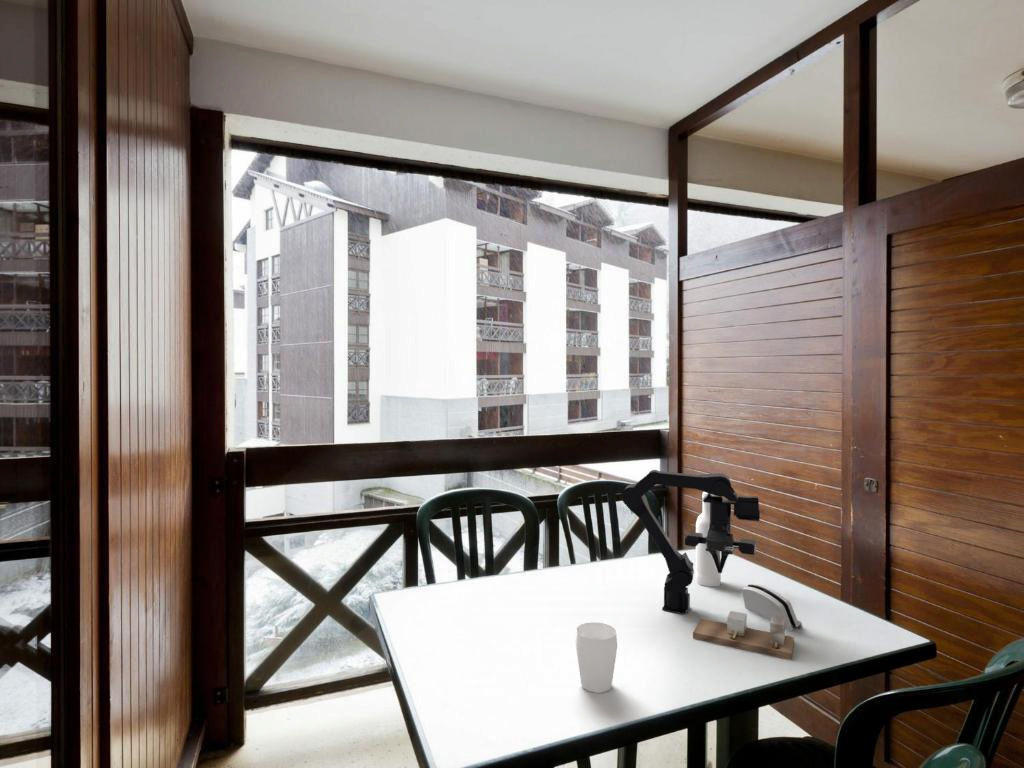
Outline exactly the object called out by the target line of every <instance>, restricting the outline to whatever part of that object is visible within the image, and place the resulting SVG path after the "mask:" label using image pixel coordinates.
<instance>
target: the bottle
mask: <svg viewBox="0 0 1024 768" xmlns="http://www.w3.org/2000/svg"><path fill="white" fill-rule="evenodd" d="M707 495H708V493H706V492H703V491H702V496H701V498H702V499H703V498H704V497H706V496H707ZM711 495H712V494H711ZM712 496H715V495H712ZM709 525H710V503H707V502H703V501H702V512H701V513H700V515H698V516H697V519H696V522H695V532H696V533H702V535H703V537H707V534H708V530H709ZM705 549H706V544H702V543H699V544H698V545H697V546H696V547H695V571H694V573H695V574H694V577H695V582H696V584H698V585H700V586H703V587H709V588H712V587H718V586H720V585H721V581H722V580H721V579H722V578H721V577H722V573H718V571H717V568H716V565H715V562H714V559H713V557H712V555H711V554H710V552H709V551H706V550H705ZM720 554H721V551H720Z"/></svg>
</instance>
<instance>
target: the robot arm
mask: <svg viewBox="0 0 1024 768" xmlns="http://www.w3.org/2000/svg"><path fill="white" fill-rule="evenodd" d="M655 486H666V487H676V488H682V489H683V488H684V489H693V490H698V491H701V492H702V493H703V492H706V493H708V495H707V496H706V497H704V498H702V503H703V502H707V503H710V525H709V530H708V534H707V537H703V535H702V533H696V531H690V532H688V534H687V535H685V537H684V545H685V546H687V547H688V546H689V547H695V548H696V546H697V545H698V544H699V543H702V544H706V549H705V550H706V551H709V552H710V554H711V555H712V557H713V559H714V562H715V565H716V568H717V571H718V573H720V574H722V573H723V570H724V567H725V564H726V562H727V559H728V557H729V555H733V554H734V552H735V550H736V549H738V551H739V552H740V553H741V554H743V555H745V554H746V555H751V556H754V555H755V554H756V552H757V548H758V547H757V544H758V543H757V542H756V540H755V539H748V538H747V539H746V538H741V539H740V540H739V541H738V540H737V541H735V539H734V534H733V533H732V505H733V517H735V518H736V519H737V520H738V521H749V522H760V516H761V515H760V514H761V511H760V505H759V503H760V502H759V497H758V496H754V495H753V496H743V495H738V493H737V491H735V489H734V488H733V486H732V481H731V479H730V477H729V476H728V475H727V474H725V473H721V472H717V473H716V472H715V473H705V474H689V473H682V472H681V473H680V472H671V471H664V470H663V471H661V470H657V469H651V470H650V471H649V472H648V474H646V475H645V476H644V477H643V478H641V479H640V480H639V481H638V482H636V483H631V484H628V485H627V486H626V487H625V488H624V490H623V491H622V492H621V500H622V502H623V504H624V505H625V506H626V507H627V508H628V509H629V510H630V511H631V512H632V513H633V514H634V515H635V516H636V517H637V518H638V519H639V521H640V522H641V523H642V525H643V527H644V528H645V530H646V531H647V533H648V534H649V536H650V537H651V539H652V540H653V542H654V544H655V546H656V547H657V548H658V550H659V552H660V554H661V555H662V556H663V558H664V559H665V562H666V566H667V568H668V572H669V573H668V574H666V578H665V582H664V587H663V606H662V609H661V610H662V611H668V612H672V613H677V614H682V615H686V613H687V611H688V610H689V609H690V607H691V606H690V605H691V604H690V603H691V602H690V601H691V593H689V588H688V587H689V586H690V585H691V584H692V583H693V580H694V575H695V574H694V573H695V570H694V563H693V562H692V561H691V560H690V559H689V556H688V554H687V552H684V553H683V554H682V553H681V552H679V551H678V550H677V549H676V547H675V546H674V544H673V542H672V541H671V539H670V538H669V537H668V535H667V533H666V532H665V529H663V527H662V525H661V524H660V522H659V521H658V519H657V517H656V516H655V514H654V513H653V511H652V510H651V508H650V504H649V502H648V498H647V496H646V494H647V493H648V492H649V491H651V490H652V488H654V487H655ZM711 494H712V495H714V496H712V495H711ZM723 498H724V499H723ZM720 551H721V553H720Z"/></svg>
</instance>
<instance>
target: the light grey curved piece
mask: <svg viewBox="0 0 1024 768" xmlns="http://www.w3.org/2000/svg"><path fill="white" fill-rule="evenodd" d="M741 593H742V598H743V604H744V608H745V609H746V610H749V611H750V612H752V613H754V614H755V615H758V616H760V617H762V618H764V619H765V620H768V621H769V622H771V618H772V616H777V617H782V618H785V630H787V631H789V632H791V631H794V627H795V628H798V627H799V628H801V629H803V628H804V627H803V623H802V622H801V620H798V618H797V616H796V613H795V611H794V609H793V606H792V602H791V601H790V600H789V599H787V598H786V597H785V596H784V595H782V594H781V593H779V592H778V591H776V590H775V589H773V588H771V587H769V586H766V585H763V584H760V583H754V582H753V583H750V584H747V585H746V586H744V587H742V589H741Z"/></svg>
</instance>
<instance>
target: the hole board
mask: <svg viewBox="0 0 1024 768" xmlns="http://www.w3.org/2000/svg"><path fill="white" fill-rule="evenodd" d="M733 635H734V634H729V633H727V622H725V623H724V622H721V621H716V620H711V619H706V618H700V619H699V621H698V623H697V624H696V626H695V628H694V630H693V631H692V638H693V639H695V640H699V641H700V640H701V641H704V642H709V643H713V644H714V643H715V644H719V645H724V646H727V647H731V648H737V649H742V650H746V651H750V652H755V653H759V654H764V655H769V656H772V657H777V658H783V659H787V660H792V657H793V652H794V644H795V637H794V636H789V635H786V629H785V618H782V617H777V616H772V618H771V621H769V631H765V630H760V629H755V628H751V627H747V629H746V632H745V635H744V636H739V635H736V637H735V638H733Z"/></svg>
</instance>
